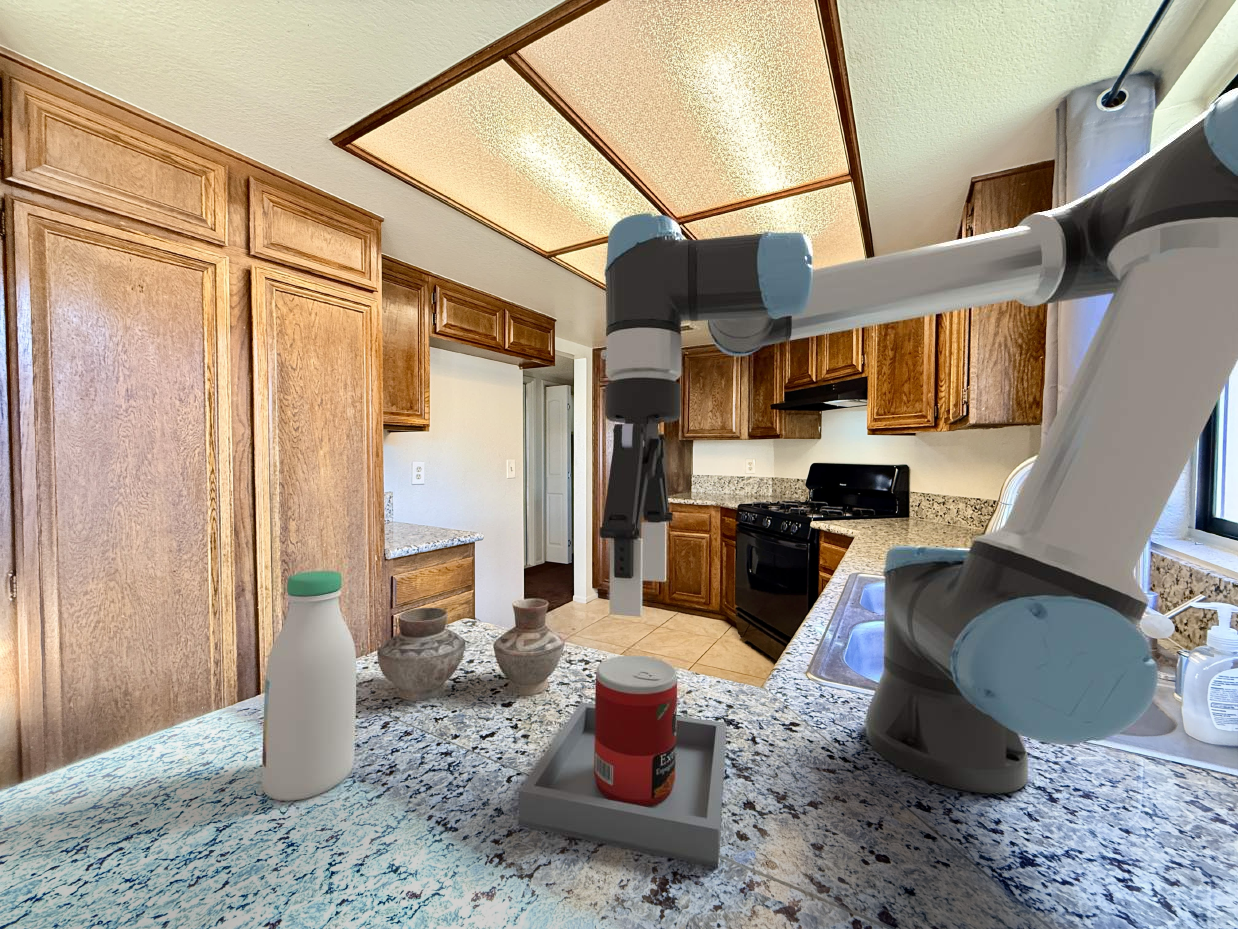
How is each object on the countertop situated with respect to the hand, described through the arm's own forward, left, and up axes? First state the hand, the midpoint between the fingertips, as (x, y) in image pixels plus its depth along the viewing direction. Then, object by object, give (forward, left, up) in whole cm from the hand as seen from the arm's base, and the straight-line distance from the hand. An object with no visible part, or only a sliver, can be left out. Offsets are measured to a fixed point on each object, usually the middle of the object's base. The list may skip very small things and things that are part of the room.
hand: (641, 595), depth 49 cm
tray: (0, 0, -19) cm, 19 cm away
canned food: (0, +1, -18) cm, 18 cm away
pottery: (+26, -14, -19) cm, 35 cm away
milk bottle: (+31, +8, -19) cm, 37 cm away
